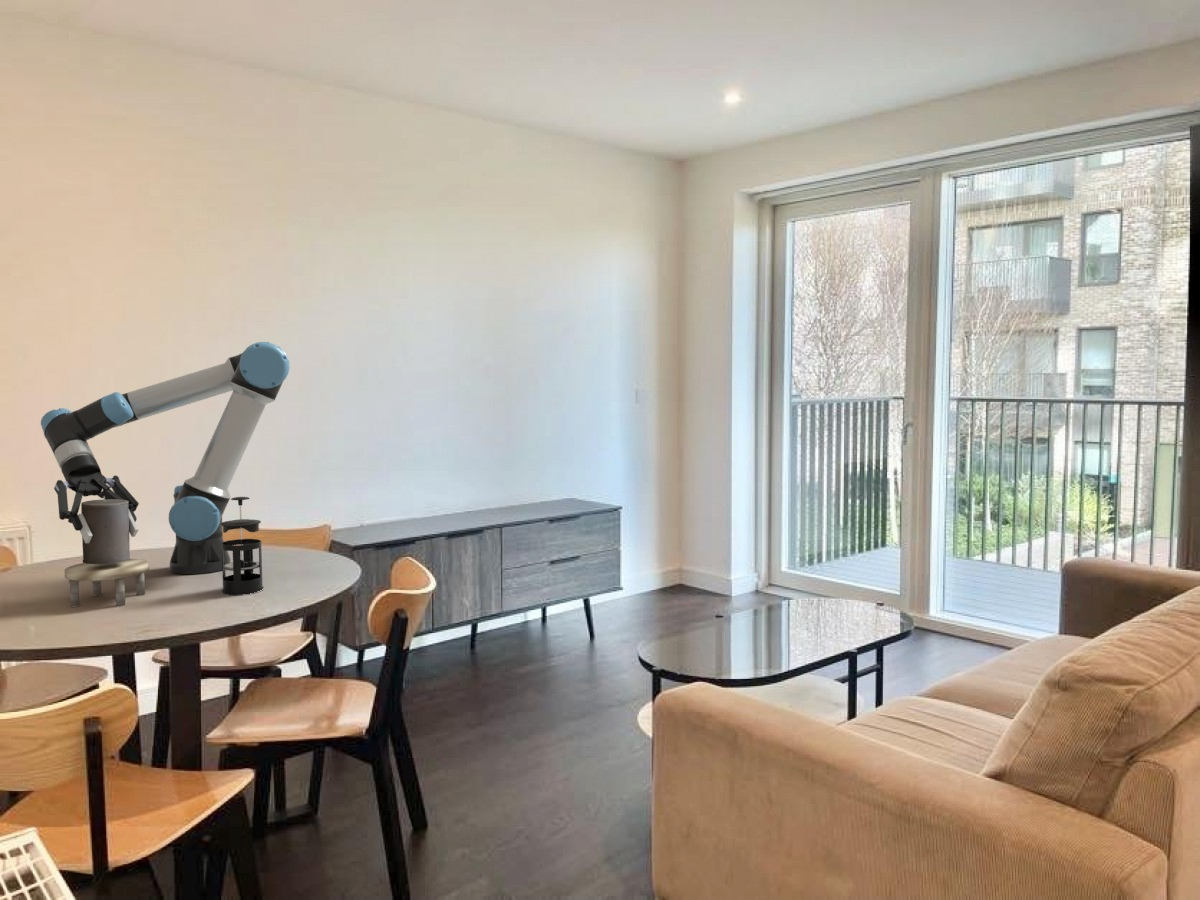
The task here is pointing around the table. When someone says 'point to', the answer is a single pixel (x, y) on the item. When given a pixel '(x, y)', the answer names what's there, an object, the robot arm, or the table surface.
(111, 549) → the pillar candle
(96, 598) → the table surface
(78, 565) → the beige round legged stand
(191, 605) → the table surface
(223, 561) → the french press
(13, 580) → the table surface
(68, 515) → the robot arm
